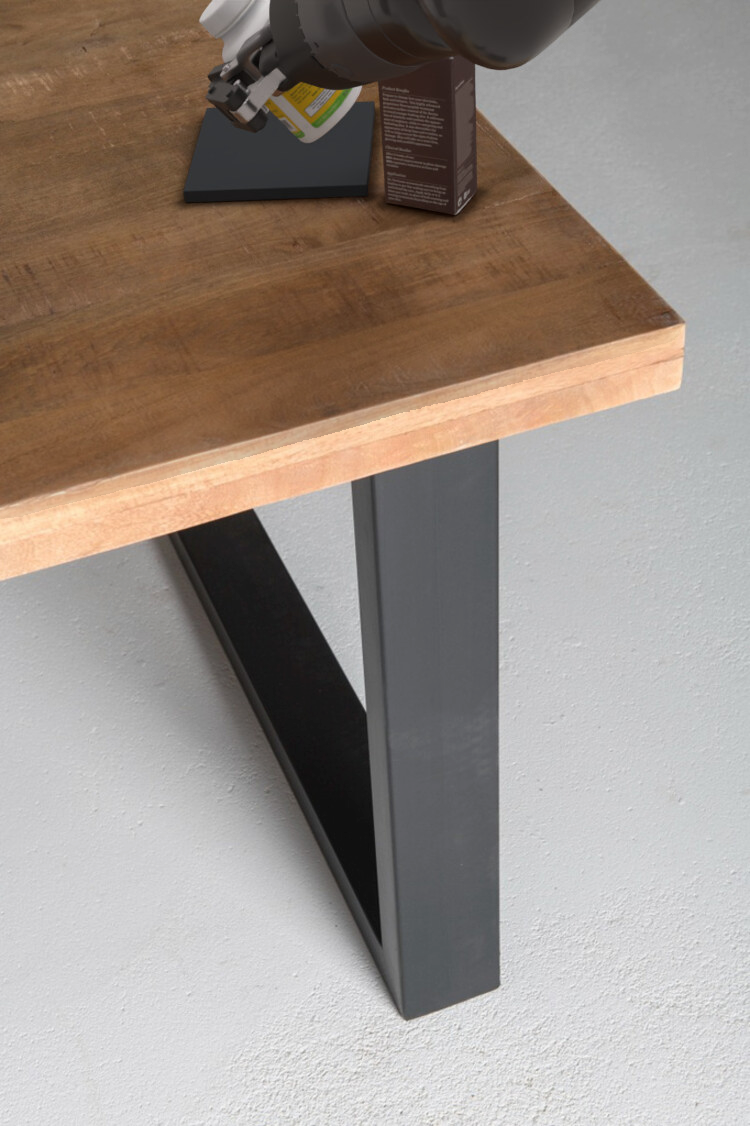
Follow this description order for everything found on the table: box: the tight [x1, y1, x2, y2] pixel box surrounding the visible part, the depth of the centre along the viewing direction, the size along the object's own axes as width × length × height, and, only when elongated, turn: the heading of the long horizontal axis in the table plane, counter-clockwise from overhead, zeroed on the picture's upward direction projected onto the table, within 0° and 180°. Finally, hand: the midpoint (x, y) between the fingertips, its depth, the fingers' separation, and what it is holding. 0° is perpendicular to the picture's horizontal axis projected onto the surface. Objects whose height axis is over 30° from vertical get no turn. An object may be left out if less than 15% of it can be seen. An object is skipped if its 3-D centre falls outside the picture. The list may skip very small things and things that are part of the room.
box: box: [377, 55, 478, 216], centre depth 102 cm, size 6×4×12 cm
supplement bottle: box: [198, 0, 363, 143], centre depth 87 cm, size 5×5×10 cm
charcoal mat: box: [182, 100, 376, 203], centre depth 112 cm, size 14×14×1 cm
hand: (250, 48), depth 88 cm, fingers closed on supplement bottle, 5 cm apart
